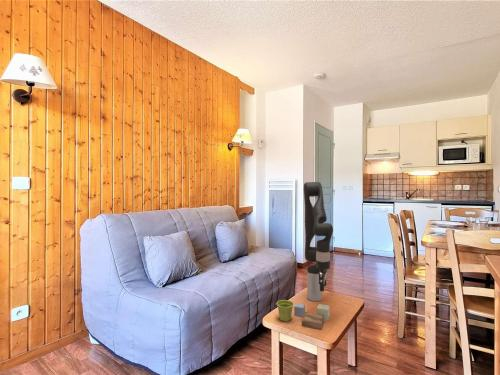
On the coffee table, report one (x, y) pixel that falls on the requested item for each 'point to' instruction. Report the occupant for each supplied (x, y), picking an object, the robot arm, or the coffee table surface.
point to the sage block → (324, 311)
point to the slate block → (299, 309)
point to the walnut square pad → (313, 320)
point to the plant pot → (285, 309)
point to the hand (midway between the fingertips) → (323, 288)
